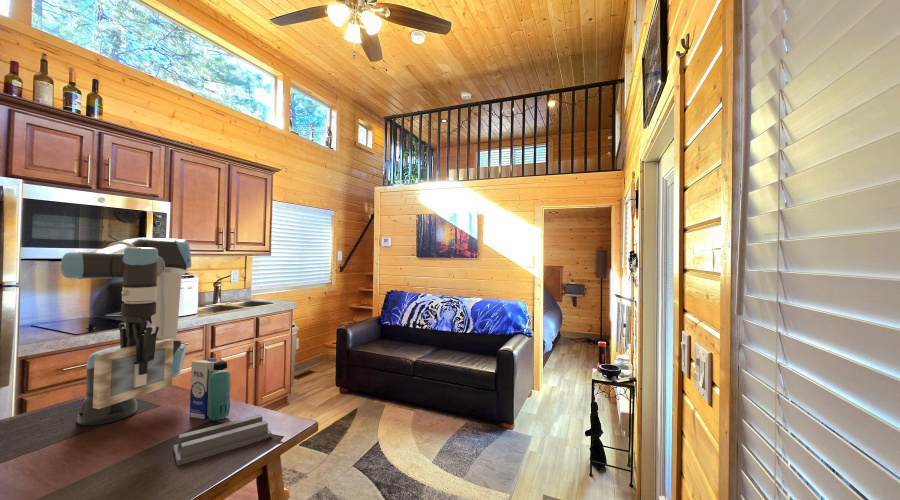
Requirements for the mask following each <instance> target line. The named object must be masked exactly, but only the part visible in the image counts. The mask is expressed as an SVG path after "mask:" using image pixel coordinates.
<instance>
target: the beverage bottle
mask: <svg viewBox="0 0 900 500" xmlns="http://www.w3.org/2000/svg"><path fill="white" fill-rule="evenodd" d="M226 369H228V362H227V361H225V360H222V361H216V363H214V367H213V370H221V371H216V372H214V373H213V374H211V375H210V377H209V378H210V383H209V402H208V403H209V410H208V417H209V418H208V419H209V420H220V419H225V418H227V417H228V416H229V414H230V410H231V375H232V374H231V373H230V371H228V370H226Z"/></svg>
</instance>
